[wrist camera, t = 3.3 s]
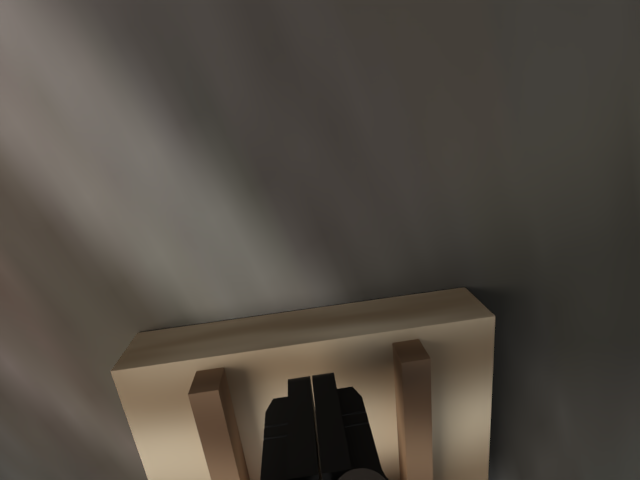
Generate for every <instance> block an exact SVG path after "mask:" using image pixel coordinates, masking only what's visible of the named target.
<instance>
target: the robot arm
mask: <svg viewBox="0 0 640 480" xmlns="http://www.w3.org/2000/svg"><path fill="white" fill-rule="evenodd" d="M312 382H313V392H312V385H311V378H310V376H306V377H300V378H293V379H288V396H287V397H281V398H274V399H273V400H272V401H271V403H270V405H269V407H268V408H267V410H266V412H265V424H264V427H265V429H264V437H263V438H264V441H263V450H262V463H261V475H260V480H388V478H387V477H386V476H385V474H384V472H383V470H382V467H381V464H380V460H379V457H378V453H377V449H376V446H375V442H374V439H373V435H372V431H371V428H370V424H369V420H368V417H367V413H366V409H365V406H364V402H363V398H362V396H361V395H360V394H359V393H358V392H357V391H356V390H355V389H354V388H353V386H352V387H345V388H339V389H337V387H336V381H335V376H334V372H332V373H325V374H319V375H312ZM313 393H314V399H313ZM314 403H315V406H314Z"/></svg>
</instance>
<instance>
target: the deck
mask: <svg viewBox="0 0 640 480" xmlns="http://www.w3.org/2000/svg"><path fill="white" fill-rule="evenodd" d="M494 336H495V315H494V314H493V313H491V312H490V311H489V310H488V309H487V308H486V307H485V306H484V305H483V304H482V303H481V302H480V301H479V300H478V299H477V298H476V297H475V296H474V295H473V294H472V293H470V292H469V291H468V290H467V289H466V288H465V287H462V288H455V289H448V290H441V291H434V292H427V293H419V294H412V295H405V296H398V297H391V298H383V299H376V300H369V301H362V302H355V303H348V304H340V305H333V306H326V307H319V308H312V309H304V310H297V311H290V312H283V313H276V314H269V315H261V316H254V317H247V318H240V319H233V320H226V321H218V322H211V323H204V324H197V325H190V326H182V327H175V328H168V329H161V330H154V331H147V332H139V333H137V335H136V336H135V337H134V339H133V340H132V342H131V343H130V344H129V346H128V347H127V349H126V350H125V352H124V353H123V354H122V356H121V357H120V359H119V360H118V362H117V363H116V364H115V366H114V367H113V369H112V370H111V374H112V377H113V379H114V382H115V385H116V388H117V391H118V394H119V397H120V400H121V403H122V405H123V408H124V411H125V414H126V417H127V420H128V423H129V426H130V429H131V431H132V434H133V437H134V440H135V443H136V446H137V449H138V452H139V454H140V457H141V460H142V463H143V466H144V469H145V472H146V475H147V478H148V480H260V475H261V463H262V450H263V441H264V438H263V437H264V429H265V427H264V424H265V412H266V410H267V408H268V407H269V405H270V403H271V401H272V400H273V399H274V398H281V397H287V396H288V379H293V378H300V377H306V376H310V378H311V385H312V392H313V382H312V375H319V374H325V373H332V372H334V376H335V381H336V387H337V389H339V388H345V387H352V386H353V388H354V389H355V390H356V391H357V392H358V393H359V394H360V395H361V396H362V398H363V402H364V406H365V409H366V413H367V417H368V420H369V424H370V428H371V431H372V435H373V439H374V442H375V446H376V449H377V453H378V457H379V460H380V464H381V467H382V470H383V472H384V474H385V476H386V477H387V478H388V480H488V470H489V447H490V425H491V403H492V380H493V358H494ZM313 399H314V393H313ZM314 406H315V403H314Z"/></svg>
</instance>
